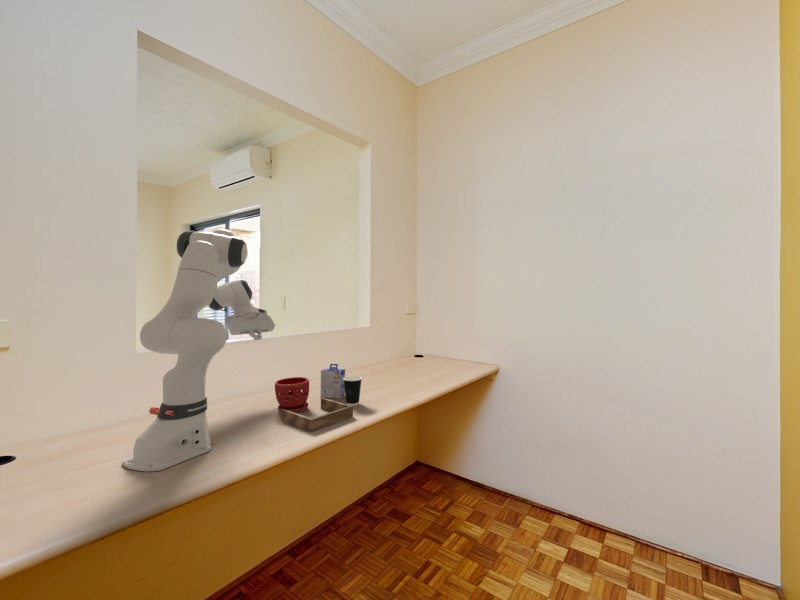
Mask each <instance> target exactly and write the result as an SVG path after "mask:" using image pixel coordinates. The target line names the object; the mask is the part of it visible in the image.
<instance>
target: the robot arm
mask: <svg viewBox="0 0 800 600" xmlns="http://www.w3.org/2000/svg"><path fill="white" fill-rule="evenodd" d="M176 252H177V254H178V256H179V257H180V258H181V260H180V262H179V265H178V269H177V271H176V272H177V273H176V277H175V279H174V280H175V281H174V284H173V287H172V292H171V294H170V296H169V298H168V300H167V301H166V303H165V304H164V306H163V307H162V308H161V310H160V311H159V313H157V314H156V315H155V316H154V317H153V318H152V319H149V320H148V321H146V322H145V323H144V324H143V326H142V327H141V329H140V332H139V339H140V343H141V345H142V346H143V348H145V349H146V350H149V351H152V352H154V353H157V354H163V355H177V360H176V364H175V366H174V367H173V368H172V369H169V370H168V371H167V372H166V373H165V374H164V375H163V377H162V402H161V404H160V406H159V407H155V406H151V407H149V409H148V413H149V414H150V415H155V416H156V419H154V420H153V422H152V423H151V424H149V426H147V428H146V429H145V430H144V431H142V432H141V434H140V435H138V436H137V438H136V439H135V442H134V446H133V451H132V454H131V455H129V456H127V457H126V458H124V459H123V460H122V465H123V466H124V468H127V469H129V470H133V471H139V472H159V471H162V470H165V469H167V468H168V469H169V468H170V467H172V466H175V465H177V464H181V463H183V462H185V461H188V460H191V459H192V458H196V457H197V456H200V455H203V454H205V453H208V452H210V451H211V450H212V446H211V445H212V443H213V442H212V439H211V435H210V431H209V426H208V425H209V424H208V419H207V410H208V397H207V396H206V384H207V383H206V380H207V372H208V368H209V365H210V364H211V362H212V359H214V357H215V355H217V354H218V353H219V352H221V351H222V349H224V347H225V345H226V343H227V340H228V332H229V334H230V335H232V336H237V335H238V336H239V335H249V336H250V337H251V338H252V339H253V340H254V341H261V340H262V339H263V336H262V333H269V332H273V331H274V329H275V327H276V324H275V323H274V321H273V319H272V317H271V316H270V315H269V314H268V311H267V310H266V309H262V308H258V307H256V306H254V304H252V303H251V300H252V299H253V291H252V289H251V288H250V286H249V284H248V282H247V281H246V280H244V279H241V278H238V279H234V280H231V281H228V282H226V283H223V284H219V285H218V283H219V282H221V281H222V280H223V279H226V278H227V277H229V276H231V275H234V274H235V273H236V272H238V270H240V269H241V266H243V265H244V264H245V262H246V260H247V258H248V254H249V253H248V245H247V243H246V242H245V241H244V239H242V238H239V237H238V236H237V237H236V236H235V234H234V233H233V232H232V231H230V230H228V229H224V228H219V229H215V230H213V231H212V232H208V231H195V230H187V231H183V232H181V234H179V236H178V238H177V241H176ZM206 307H208V308H209V309H211V310H214V311H220V310H223V309H225V308H226V307H230V309H232V311H233V314H234V315H233V316H231V315H229V316H227V317H225V319H224V321H225V323H226V325H227V328H228V331H227V329H226V327H225V325H224V324H223V323H222V322H221V321H218V320H214V319H210V318H206V317H196V316H197V315H198V314H199V313H200V311H202V310H203V309H205V308H206Z"/></svg>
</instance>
